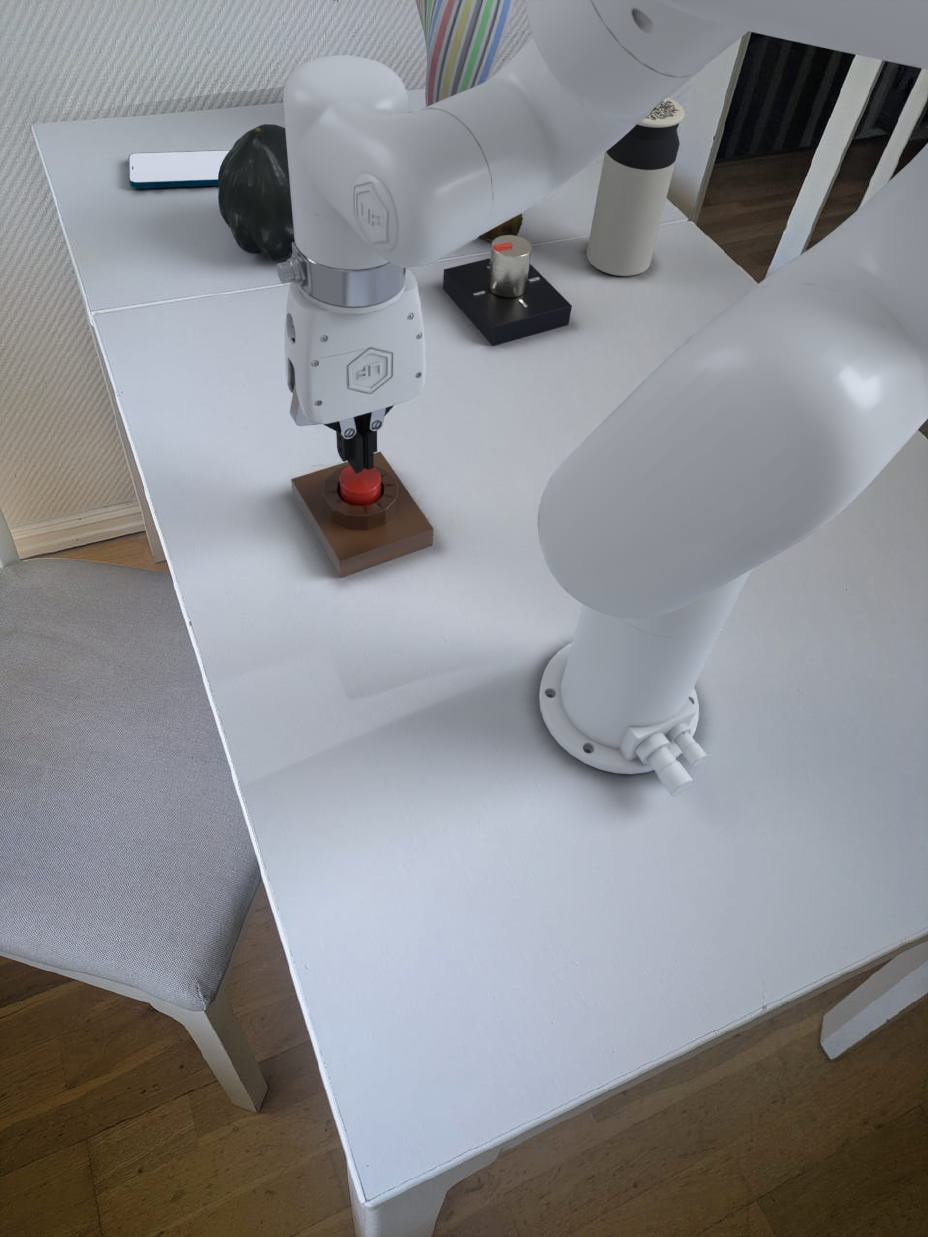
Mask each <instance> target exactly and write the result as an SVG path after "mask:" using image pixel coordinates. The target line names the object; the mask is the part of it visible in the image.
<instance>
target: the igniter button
mask: <svg viewBox="0 0 928 1237" xmlns="http://www.w3.org/2000/svg"><path fill="white" fill-rule="evenodd" d="M339 481H340V494H341V497H342V498H343V500H344V501H345V502H347V503H348V504H350V505H354V506H367V505H370V504H373V503H375V502H376V501H377V500H378V499H379V497H380V495H381V476H380V473H379V472H378V470H377V469H375V468H372V469H369V470H367V469H364V470H362V472H359V473H355V472H354V470H353V469H352V467H351V466H348V467H347V468H345V469H344V470H343V471H342V472H341V474H340V477H339Z"/></svg>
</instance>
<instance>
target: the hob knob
mask: <svg viewBox="0 0 928 1237" xmlns="http://www.w3.org/2000/svg"><path fill="white" fill-rule="evenodd" d="M490 247H491V248H490V257H489V258H490V267H489V277H488V288H489V290H490V291H491V292H492V293H494V294H495V295H498V296H501V297H506V298H513V297H518V296H520V295H522V294H523V293H524V292H525V291H526V287H527V280H528V272H529V264H531V256H532V249H533V248H532V244H531V243H530V241H529V240H527V239H526V238H524V237H522V236H518V235H517V236H514V235H504V236H500V237H497V238H496V239H494V240H492V241H491V246H490Z"/></svg>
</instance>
